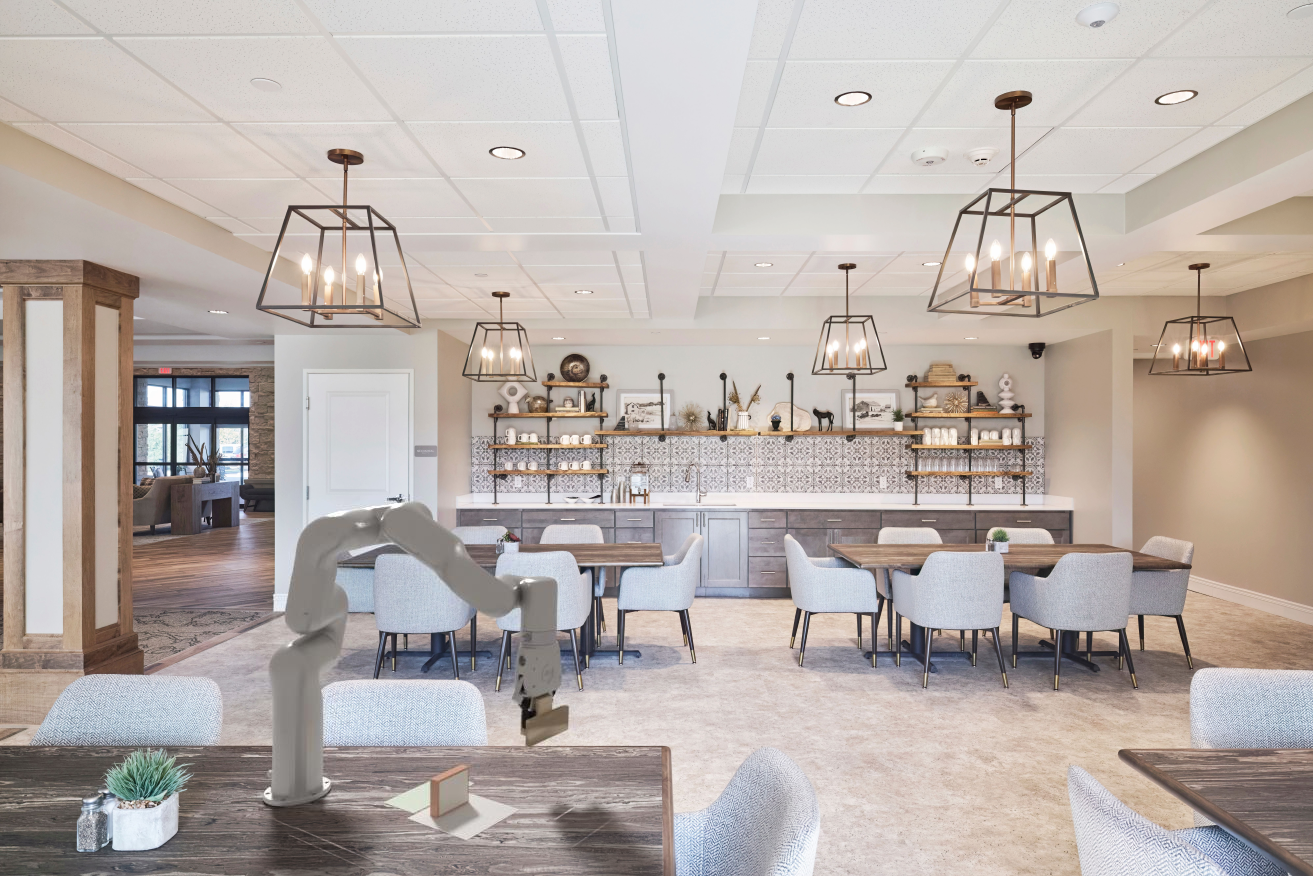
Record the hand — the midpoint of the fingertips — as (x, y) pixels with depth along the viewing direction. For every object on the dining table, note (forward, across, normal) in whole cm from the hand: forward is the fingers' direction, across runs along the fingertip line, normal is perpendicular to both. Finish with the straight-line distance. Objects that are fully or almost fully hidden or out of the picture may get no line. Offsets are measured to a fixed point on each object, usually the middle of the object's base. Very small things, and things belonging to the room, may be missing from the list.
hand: (536, 724), depth 156 cm
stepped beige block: (+2, 0, 0) cm, 2 cm away
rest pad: (+14, -12, +17) cm, 25 cm away
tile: (+13, -16, +8) cm, 22 cm away
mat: (+14, -16, +4) cm, 21 cm away
